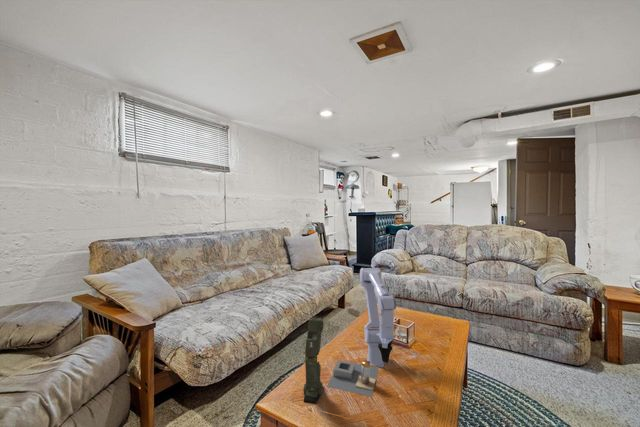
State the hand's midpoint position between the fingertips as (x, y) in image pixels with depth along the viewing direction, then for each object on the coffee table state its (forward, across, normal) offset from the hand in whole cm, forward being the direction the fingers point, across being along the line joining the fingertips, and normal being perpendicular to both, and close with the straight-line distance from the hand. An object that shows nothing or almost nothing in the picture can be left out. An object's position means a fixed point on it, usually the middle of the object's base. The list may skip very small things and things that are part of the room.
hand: (386, 357), depth 114 cm
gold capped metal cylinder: (+9, +4, -8) cm, 13 cm away
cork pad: (+10, +4, -8) cm, 13 cm away
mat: (+10, +1, -13) cm, 17 cm away
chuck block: (+10, 0, -18) cm, 20 cm away
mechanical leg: (+11, +16, -26) cm, 33 cm away
